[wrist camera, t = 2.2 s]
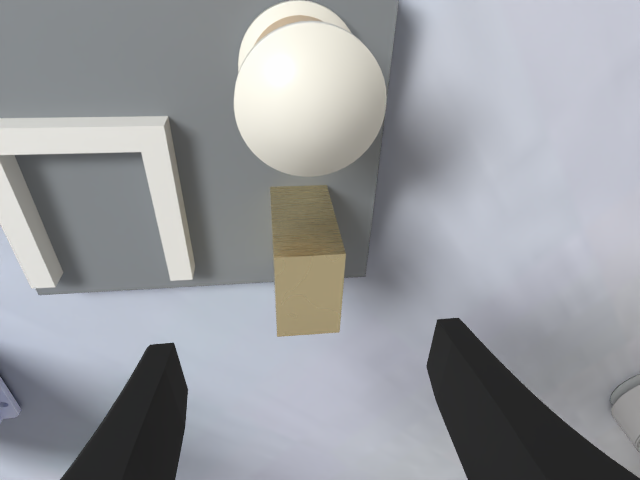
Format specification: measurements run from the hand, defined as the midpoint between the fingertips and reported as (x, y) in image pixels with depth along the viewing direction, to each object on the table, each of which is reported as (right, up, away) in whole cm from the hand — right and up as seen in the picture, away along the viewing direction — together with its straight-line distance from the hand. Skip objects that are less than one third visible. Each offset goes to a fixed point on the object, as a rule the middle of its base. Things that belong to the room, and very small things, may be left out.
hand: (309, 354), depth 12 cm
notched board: (-5, +7, +7) cm, 11 cm away
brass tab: (-1, +4, +8) cm, 9 cm away
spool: (-1, +10, +4) cm, 10 cm away
